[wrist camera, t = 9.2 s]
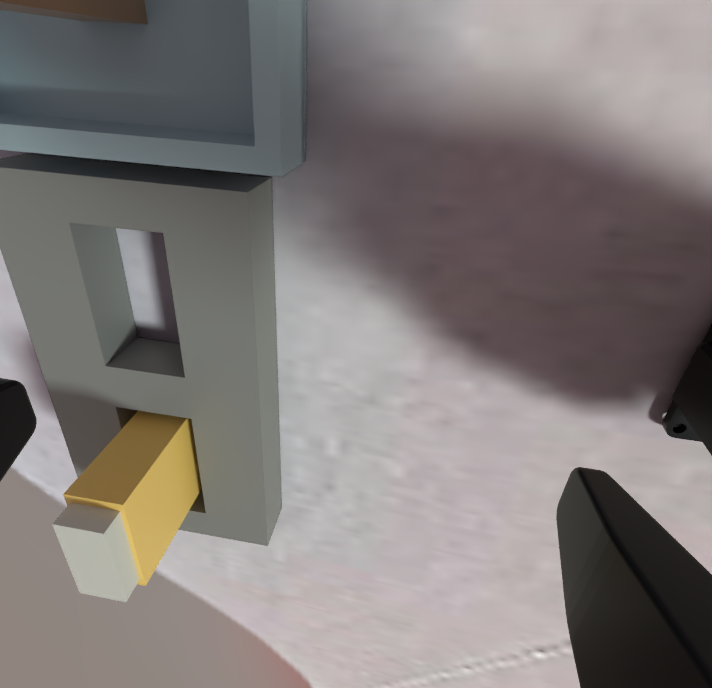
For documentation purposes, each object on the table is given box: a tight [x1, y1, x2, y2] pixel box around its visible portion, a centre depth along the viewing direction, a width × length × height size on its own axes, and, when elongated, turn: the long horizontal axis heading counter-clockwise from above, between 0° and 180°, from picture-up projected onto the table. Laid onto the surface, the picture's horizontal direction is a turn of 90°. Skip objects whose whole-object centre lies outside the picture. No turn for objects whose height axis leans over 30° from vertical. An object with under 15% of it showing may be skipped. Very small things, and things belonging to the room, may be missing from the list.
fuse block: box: [0, 154, 282, 546], centre depth 22 cm, size 10×18×2 cm, turn 177°
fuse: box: [52, 410, 202, 602], centre depth 21 cm, size 2×5×8 cm, turn 177°
